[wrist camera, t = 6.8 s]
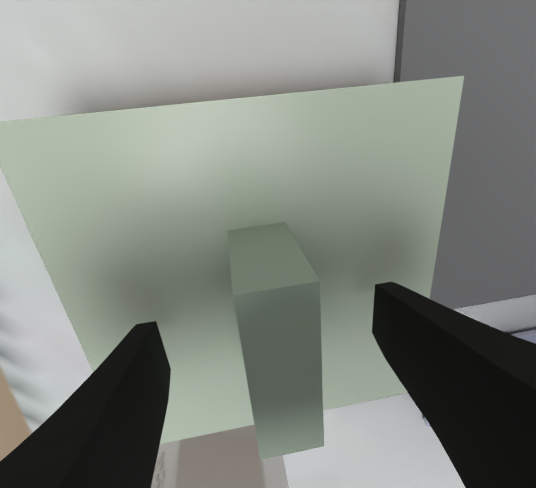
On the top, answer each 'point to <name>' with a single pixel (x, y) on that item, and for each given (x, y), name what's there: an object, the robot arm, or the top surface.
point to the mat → (481, 141)
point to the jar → (218, 462)
